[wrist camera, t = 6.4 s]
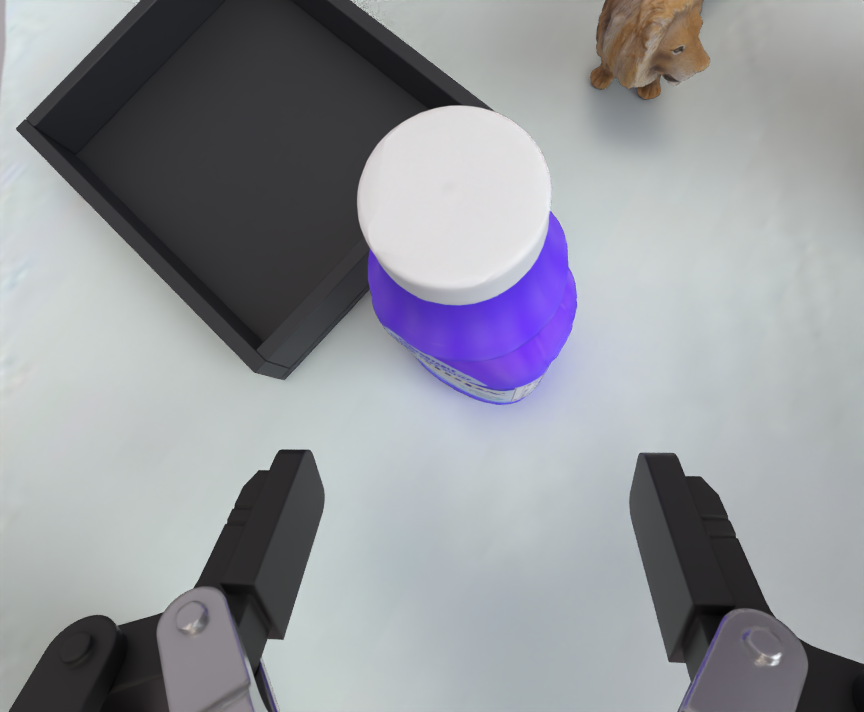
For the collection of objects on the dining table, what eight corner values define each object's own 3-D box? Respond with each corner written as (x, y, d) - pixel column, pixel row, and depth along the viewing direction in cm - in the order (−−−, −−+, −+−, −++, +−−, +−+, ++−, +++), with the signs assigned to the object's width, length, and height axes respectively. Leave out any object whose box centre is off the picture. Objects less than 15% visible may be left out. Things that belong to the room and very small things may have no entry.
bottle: (396, 357, 28) (239, 235, 11) (448, 268, 28) (376, 14, 11) (514, 424, 27) (548, 408, 9) (567, 330, 27) (692, 152, 10)
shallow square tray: (258, -37, 33) (229, -93, 29) (498, 152, 29) (498, 113, 25) (67, 161, 32) (14, 128, 29) (284, 380, 28) (254, 373, 25)
